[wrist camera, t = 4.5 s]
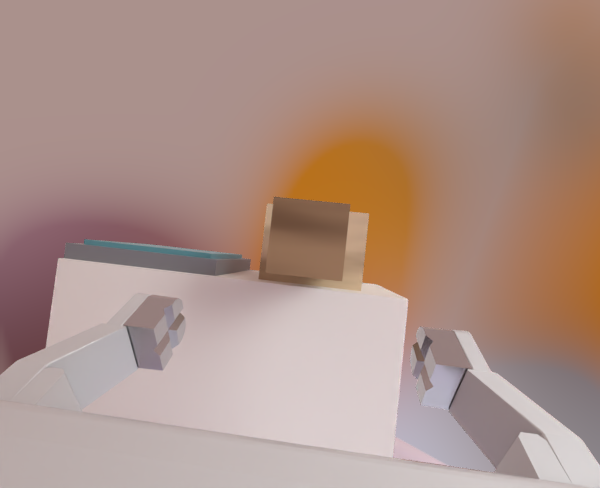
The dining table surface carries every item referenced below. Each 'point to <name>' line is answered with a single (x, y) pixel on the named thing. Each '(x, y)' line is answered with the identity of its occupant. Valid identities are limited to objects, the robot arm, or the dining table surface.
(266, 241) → the stamp
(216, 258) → the pad
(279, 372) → the white block
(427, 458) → the dining table surface
